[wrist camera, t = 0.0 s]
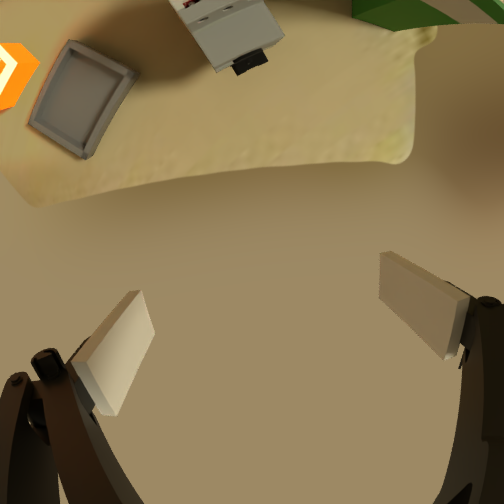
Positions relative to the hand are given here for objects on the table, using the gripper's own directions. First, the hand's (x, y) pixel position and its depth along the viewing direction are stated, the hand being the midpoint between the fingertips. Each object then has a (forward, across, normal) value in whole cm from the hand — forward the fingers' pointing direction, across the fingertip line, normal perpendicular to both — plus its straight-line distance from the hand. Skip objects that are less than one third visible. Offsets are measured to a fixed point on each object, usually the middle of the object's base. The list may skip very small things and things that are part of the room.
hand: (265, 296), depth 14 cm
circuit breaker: (+20, 0, +27) cm, 34 cm away
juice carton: (+18, -34, +33) cm, 50 cm away
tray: (+22, -21, +23) cm, 38 cm away
